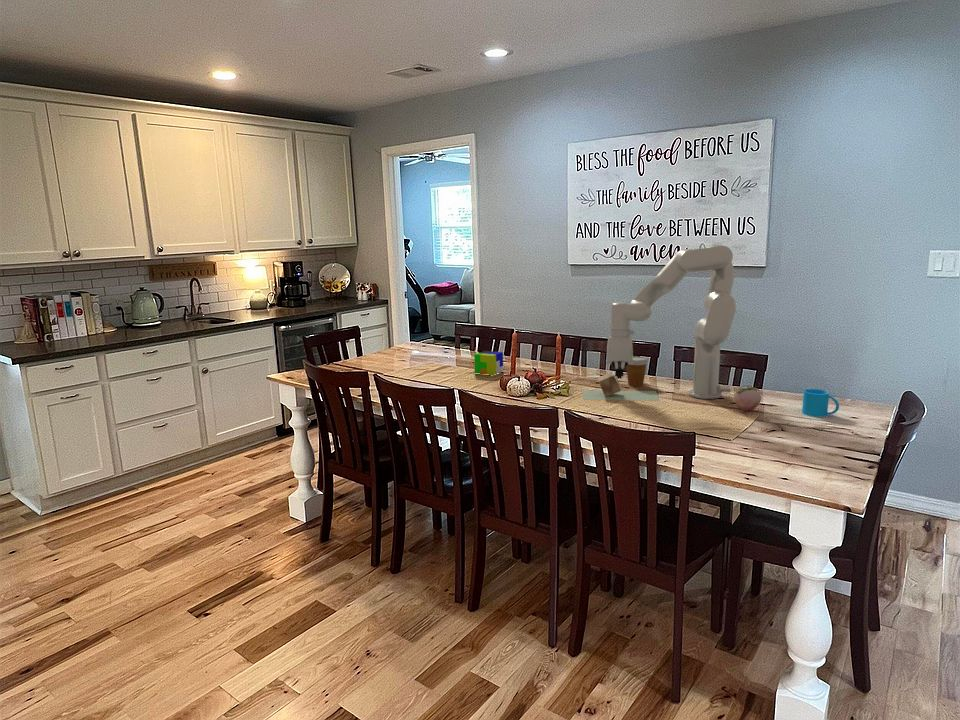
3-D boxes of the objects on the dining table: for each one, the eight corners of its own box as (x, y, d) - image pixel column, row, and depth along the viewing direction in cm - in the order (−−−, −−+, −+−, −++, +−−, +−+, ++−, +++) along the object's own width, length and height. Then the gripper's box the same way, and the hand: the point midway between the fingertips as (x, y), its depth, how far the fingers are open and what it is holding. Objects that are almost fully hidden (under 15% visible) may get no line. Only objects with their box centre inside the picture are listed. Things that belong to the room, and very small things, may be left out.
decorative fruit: (747, 407, 242) (749, 381, 240) (764, 412, 234) (765, 386, 232) (727, 410, 238) (729, 384, 236) (743, 416, 231) (745, 389, 229)
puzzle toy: (503, 372, 311) (502, 352, 309) (492, 376, 302) (492, 355, 301) (485, 370, 316) (484, 350, 314) (474, 374, 308) (474, 354, 306)
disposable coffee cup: (624, 387, 276) (624, 360, 273) (624, 382, 285) (625, 356, 283) (647, 388, 274) (647, 360, 271) (646, 383, 283) (647, 356, 280)
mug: (798, 413, 232) (799, 391, 231) (807, 409, 238) (809, 387, 236) (833, 420, 224) (835, 397, 222) (842, 415, 229) (844, 393, 227)
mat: (655, 392, 267) (655, 391, 267) (660, 401, 253) (660, 400, 252) (582, 391, 271) (582, 390, 271) (582, 400, 257) (582, 399, 257)
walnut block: (613, 371, 264) (597, 377, 265) (614, 374, 257) (598, 381, 258) (620, 386, 265) (604, 392, 266) (621, 390, 258) (605, 397, 259)
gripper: (638, 331, 259) (637, 376, 263) (600, 331, 262) (600, 375, 265) (640, 334, 252) (639, 380, 256) (601, 334, 254) (600, 379, 258)
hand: (619, 377), depth 261 cm, fingers closed
